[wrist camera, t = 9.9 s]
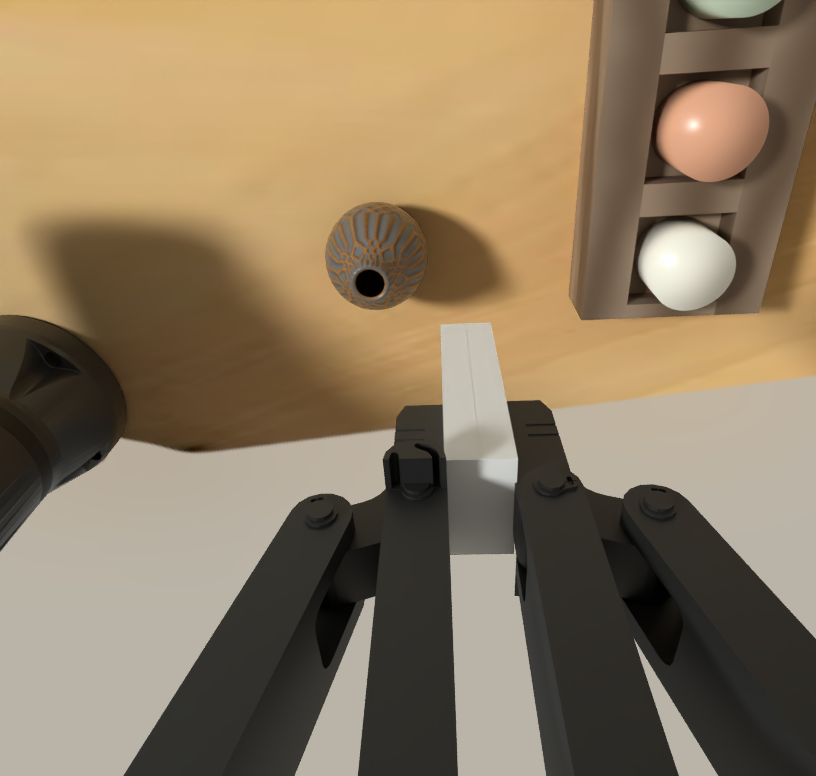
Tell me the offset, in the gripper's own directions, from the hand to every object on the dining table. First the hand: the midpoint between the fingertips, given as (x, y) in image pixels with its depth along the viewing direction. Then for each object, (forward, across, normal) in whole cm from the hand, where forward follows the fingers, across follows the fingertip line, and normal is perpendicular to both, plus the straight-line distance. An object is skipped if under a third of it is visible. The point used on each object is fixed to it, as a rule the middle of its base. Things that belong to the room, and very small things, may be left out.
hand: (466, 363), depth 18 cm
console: (+26, +15, +3) cm, 31 cm away
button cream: (+24, +15, -5) cm, 28 cm away
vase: (+27, -5, -4) cm, 27 cm away
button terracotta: (+24, +15, +3) cm, 28 cm away
